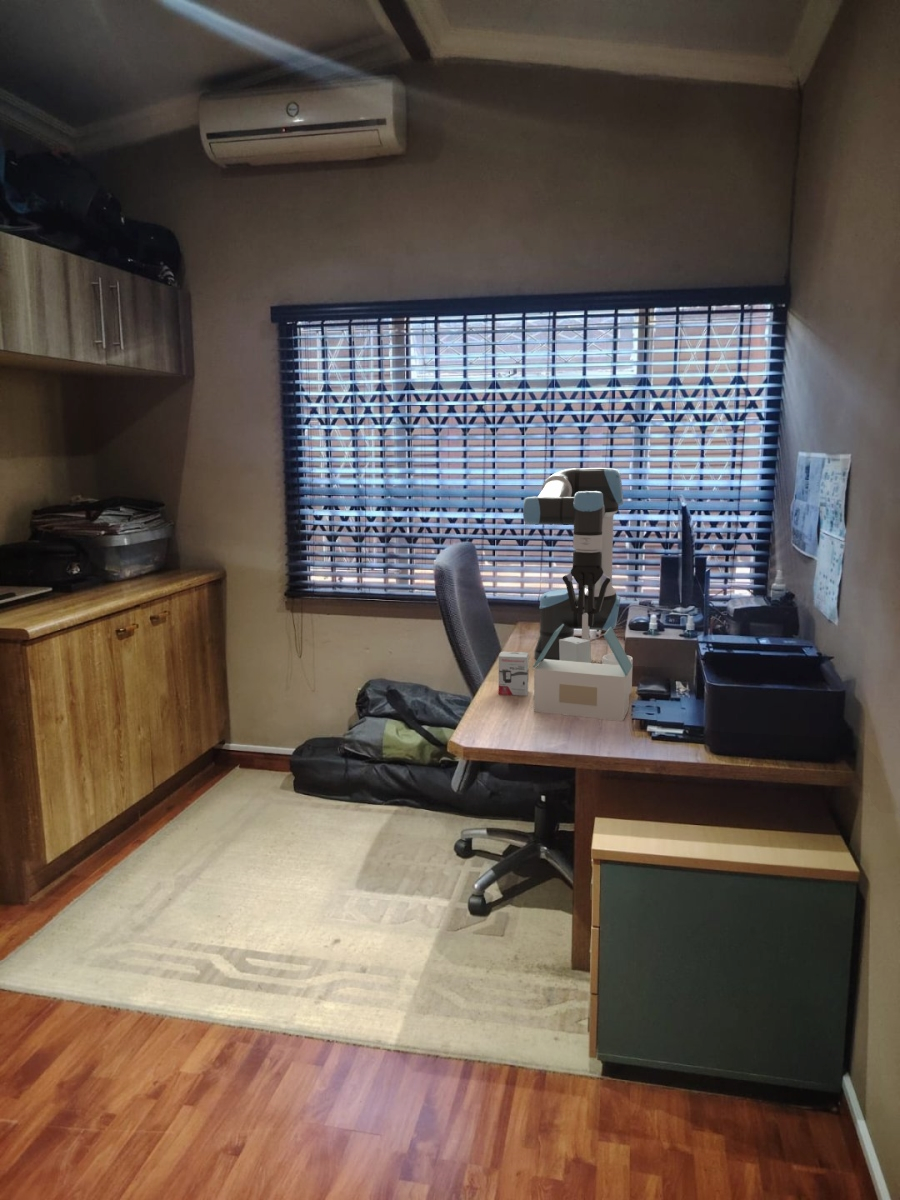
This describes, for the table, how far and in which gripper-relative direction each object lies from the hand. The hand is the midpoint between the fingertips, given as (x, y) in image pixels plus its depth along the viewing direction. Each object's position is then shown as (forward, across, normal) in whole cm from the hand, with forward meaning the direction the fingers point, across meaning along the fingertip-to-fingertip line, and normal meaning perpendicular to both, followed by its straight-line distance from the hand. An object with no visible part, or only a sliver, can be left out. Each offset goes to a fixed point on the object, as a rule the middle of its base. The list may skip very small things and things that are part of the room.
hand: (585, 637), depth 208 cm
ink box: (+21, -23, +9) cm, 32 cm away
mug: (+21, +6, +17) cm, 28 cm away
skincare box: (+21, -7, +20) cm, 30 cm away
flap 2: (+3, +9, 0) cm, 9 cm away
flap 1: (+3, -10, 0) cm, 10 cm away
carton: (+20, -1, 0) cm, 20 cm away
